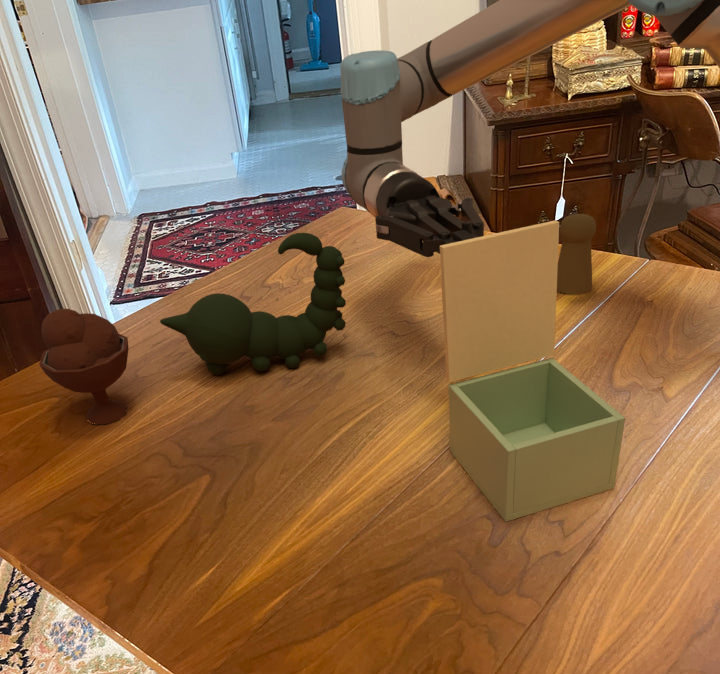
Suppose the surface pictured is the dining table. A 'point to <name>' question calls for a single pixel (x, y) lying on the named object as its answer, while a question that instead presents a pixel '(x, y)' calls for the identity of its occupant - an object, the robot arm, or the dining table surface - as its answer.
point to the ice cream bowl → (85, 358)
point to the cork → (575, 254)
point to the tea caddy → (534, 437)
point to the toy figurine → (267, 318)
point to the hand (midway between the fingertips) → (484, 262)
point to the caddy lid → (499, 299)
